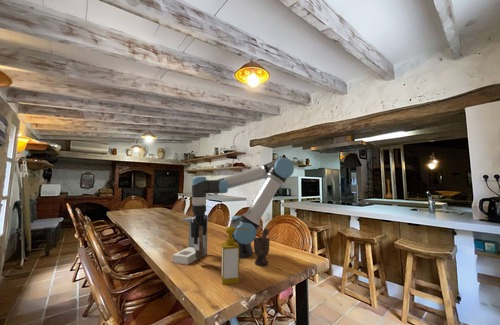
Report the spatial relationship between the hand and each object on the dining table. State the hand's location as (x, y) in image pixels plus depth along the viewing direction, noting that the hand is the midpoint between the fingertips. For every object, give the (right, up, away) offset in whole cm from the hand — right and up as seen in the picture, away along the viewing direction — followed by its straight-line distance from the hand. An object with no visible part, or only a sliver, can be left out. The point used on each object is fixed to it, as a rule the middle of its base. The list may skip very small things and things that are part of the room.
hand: (199, 248), depth 115 cm
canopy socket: (-8, -9, +9) cm, 15 cm away
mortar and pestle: (+34, -9, -1) cm, 36 cm away
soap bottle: (+21, -7, -18) cm, 29 cm away
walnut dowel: (0, -4, 0) cm, 4 cm away
